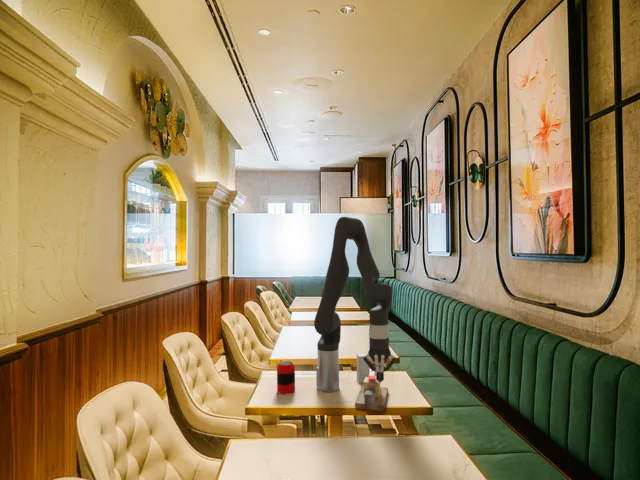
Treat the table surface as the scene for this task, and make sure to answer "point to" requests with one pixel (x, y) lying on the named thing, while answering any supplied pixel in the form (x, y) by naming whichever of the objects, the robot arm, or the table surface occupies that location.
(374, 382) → the valve lever
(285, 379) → the soda can
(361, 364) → the skincare box
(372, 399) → the valve stand
